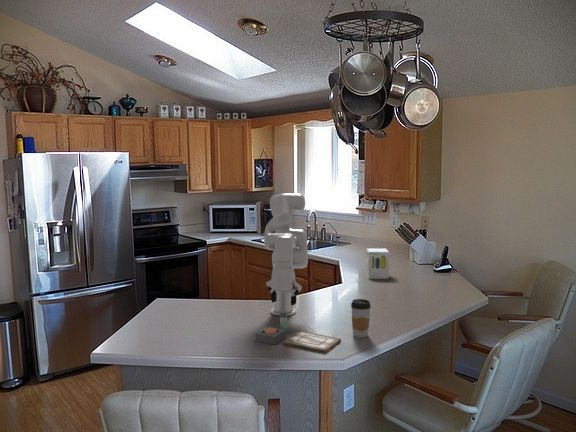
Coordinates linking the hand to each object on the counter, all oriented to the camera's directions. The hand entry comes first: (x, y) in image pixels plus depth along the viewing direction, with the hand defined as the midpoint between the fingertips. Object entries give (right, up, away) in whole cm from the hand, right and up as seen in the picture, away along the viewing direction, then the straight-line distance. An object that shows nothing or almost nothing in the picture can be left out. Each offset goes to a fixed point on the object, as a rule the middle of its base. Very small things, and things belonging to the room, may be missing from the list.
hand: (283, 303), depth 214 cm
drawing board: (+12, -14, -11) cm, 22 cm away
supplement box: (+60, -2, +107) cm, 122 cm away
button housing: (-5, -14, -7) cm, 17 cm away
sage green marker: (0, -13, +2) cm, 13 cm away
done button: (-5, -12, -8) cm, 15 cm away
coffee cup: (+33, -14, -3) cm, 36 cm away
